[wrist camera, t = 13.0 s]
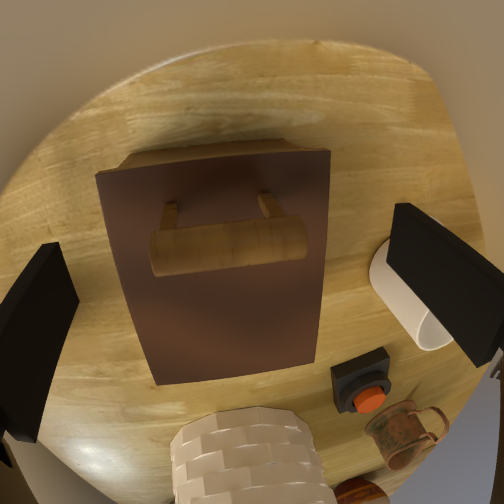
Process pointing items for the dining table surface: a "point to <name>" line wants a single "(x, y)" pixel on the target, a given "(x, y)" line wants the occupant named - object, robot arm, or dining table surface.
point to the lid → (221, 259)
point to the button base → (359, 378)
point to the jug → (360, 492)
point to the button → (369, 399)
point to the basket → (248, 460)
